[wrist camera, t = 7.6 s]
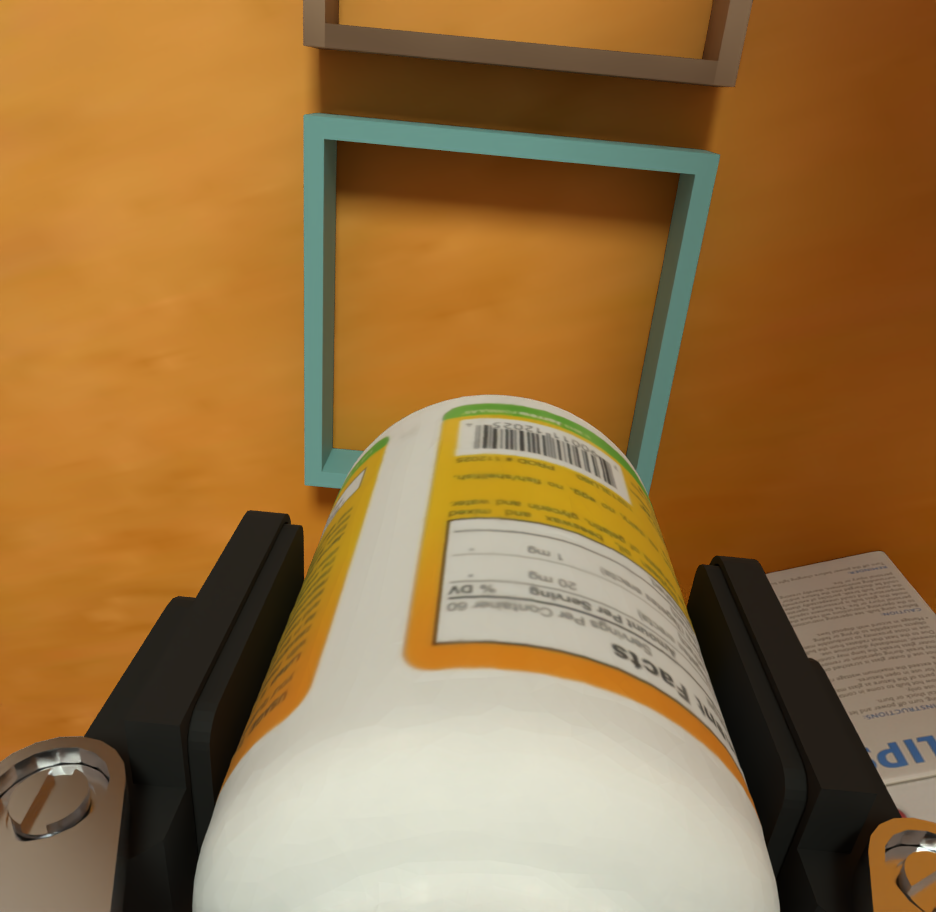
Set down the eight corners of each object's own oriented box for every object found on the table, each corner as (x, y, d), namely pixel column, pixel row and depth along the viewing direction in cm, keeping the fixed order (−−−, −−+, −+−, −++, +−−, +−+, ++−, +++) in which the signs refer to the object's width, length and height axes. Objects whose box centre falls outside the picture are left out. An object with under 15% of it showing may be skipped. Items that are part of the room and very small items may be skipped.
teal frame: (318, 113, 25) (303, 114, 23) (704, 150, 25) (720, 154, 23) (316, 460, 30) (304, 485, 28) (635, 491, 30) (643, 517, 28)
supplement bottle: (421, 690, 15) (302, 1550, 6) (277, 459, 13) (-197, 1266, 4) (694, 601, 14) (1016, 1513, 5) (584, 332, 12) (807, 1093, 3)
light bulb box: (905, 740, 35) (1063, 995, 25) (751, 768, 36) (845, 1024, 26) (885, 541, 30) (1066, 754, 21) (711, 580, 32) (805, 800, 22)
